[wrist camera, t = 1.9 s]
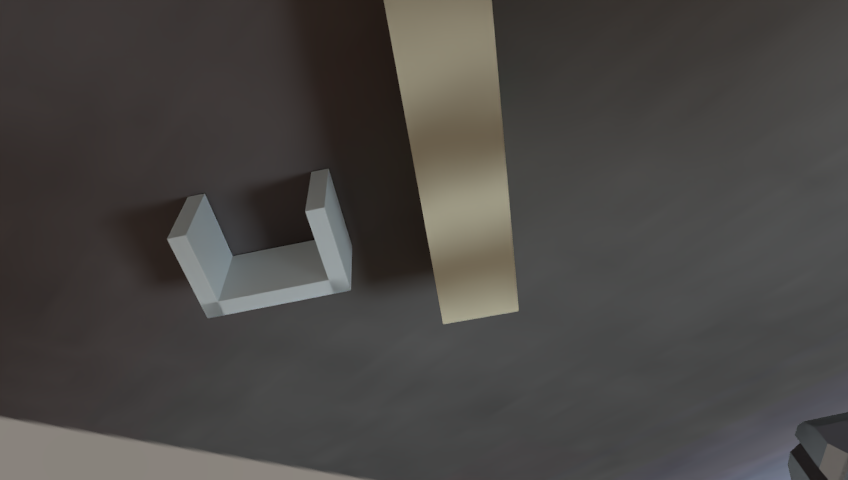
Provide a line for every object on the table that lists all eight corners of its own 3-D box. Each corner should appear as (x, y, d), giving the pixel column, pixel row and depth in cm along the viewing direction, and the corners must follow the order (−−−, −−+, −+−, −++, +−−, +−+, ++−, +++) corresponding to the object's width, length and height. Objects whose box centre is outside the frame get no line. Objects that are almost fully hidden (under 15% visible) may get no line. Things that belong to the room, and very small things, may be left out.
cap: (187, 196, 27) (166, 239, 24) (328, 168, 27) (324, 207, 24) (222, 272, 30) (207, 318, 27) (352, 246, 30) (351, 290, 27)
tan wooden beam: (359, -139, 21) (359, -135, 17) (457, -157, 21) (478, -157, 17) (433, 266, 31) (443, 324, 27) (500, 254, 31) (518, 310, 27)
